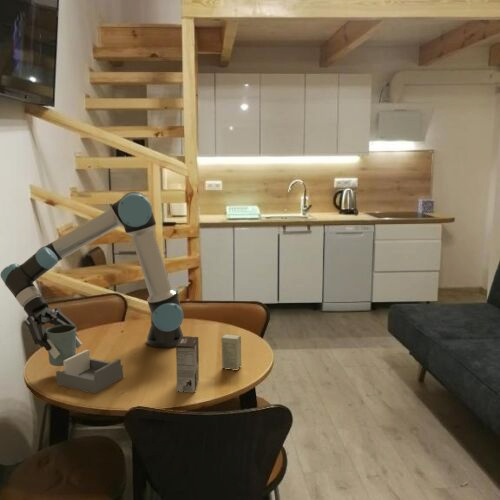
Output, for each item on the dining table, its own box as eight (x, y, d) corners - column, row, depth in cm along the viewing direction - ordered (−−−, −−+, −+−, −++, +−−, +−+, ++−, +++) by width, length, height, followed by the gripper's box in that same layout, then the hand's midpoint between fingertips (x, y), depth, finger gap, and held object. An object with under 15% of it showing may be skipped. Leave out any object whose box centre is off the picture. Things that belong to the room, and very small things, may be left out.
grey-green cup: (47, 368, 163) (45, 334, 161) (46, 357, 172) (44, 325, 170) (79, 364, 167) (77, 331, 165) (76, 353, 176) (75, 322, 174)
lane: (56, 384, 163) (55, 364, 161) (86, 369, 175) (85, 350, 174) (95, 393, 156) (94, 373, 155) (123, 377, 169) (122, 358, 168)
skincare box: (241, 367, 179) (241, 335, 177) (237, 371, 175) (237, 339, 172) (225, 364, 181) (225, 333, 179) (221, 369, 177) (221, 337, 175)
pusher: (63, 380, 163) (62, 360, 162) (87, 367, 173) (86, 349, 172) (66, 380, 162) (65, 361, 161) (89, 368, 173) (89, 350, 171)
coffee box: (180, 380, 167) (180, 335, 164) (199, 380, 167) (199, 336, 164) (176, 392, 158) (175, 345, 155) (195, 392, 158) (195, 345, 155)
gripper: (51, 300, 183) (86, 346, 179) (0, 316, 163) (38, 369, 159) (61, 288, 180) (96, 335, 176) (10, 303, 160) (49, 356, 156)
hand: (68, 351), depth 168 cm, fingers closed on grey-green cup, 10 cm apart
